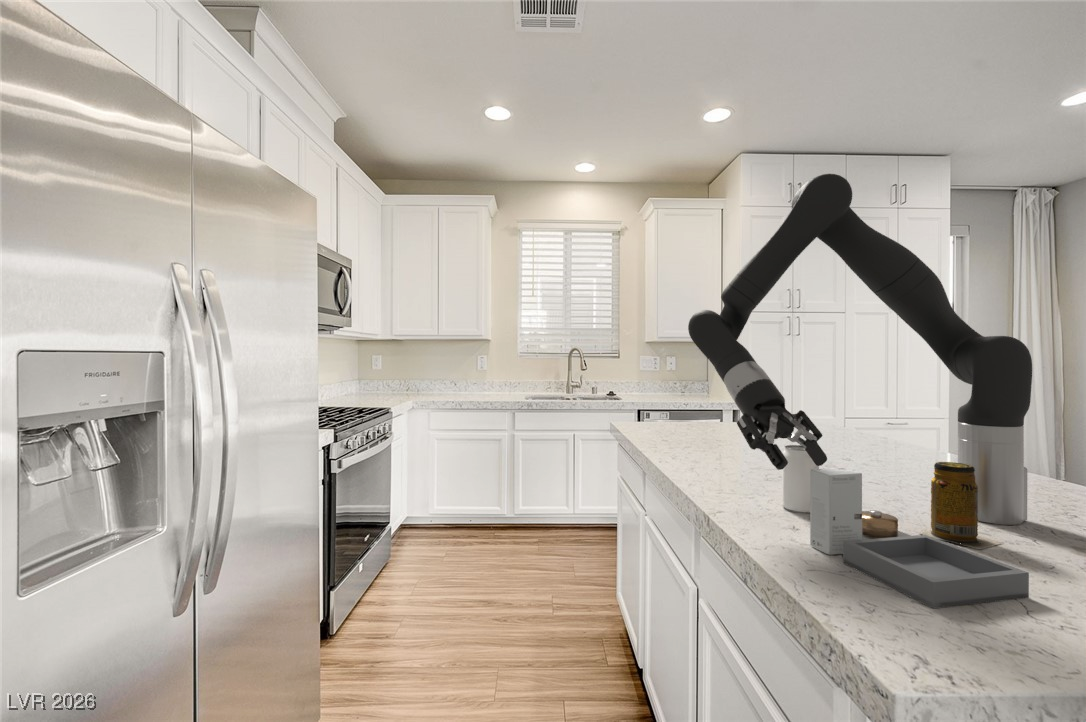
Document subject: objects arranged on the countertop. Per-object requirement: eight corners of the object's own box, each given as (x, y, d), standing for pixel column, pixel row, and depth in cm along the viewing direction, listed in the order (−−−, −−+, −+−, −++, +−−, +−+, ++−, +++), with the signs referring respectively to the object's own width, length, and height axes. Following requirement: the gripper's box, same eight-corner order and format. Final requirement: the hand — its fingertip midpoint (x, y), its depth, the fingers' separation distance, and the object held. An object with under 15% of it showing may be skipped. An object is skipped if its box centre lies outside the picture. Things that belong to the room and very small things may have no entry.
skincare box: (829, 556, 78) (830, 474, 78) (808, 545, 82) (808, 468, 82) (864, 552, 79) (864, 472, 79) (841, 542, 84) (841, 466, 84)
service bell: (876, 528, 90) (876, 503, 90) (918, 544, 83) (918, 517, 83) (836, 531, 89) (836, 506, 89) (874, 548, 81) (874, 520, 81)
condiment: (942, 528, 91) (943, 458, 91) (1003, 543, 83) (1003, 468, 83) (918, 534, 88) (918, 462, 87) (978, 551, 80) (978, 472, 80)
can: (823, 514, 98) (823, 450, 98) (786, 512, 100) (786, 449, 100) (813, 505, 105) (813, 445, 105) (778, 503, 106) (778, 444, 106)
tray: (925, 555, 78) (925, 534, 78) (1028, 597, 64) (1028, 572, 64) (843, 562, 75) (843, 541, 75) (933, 608, 62) (933, 582, 62)
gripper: (731, 378, 92) (782, 454, 81) (793, 377, 97) (849, 448, 86) (711, 405, 97) (757, 481, 86) (771, 403, 102) (822, 474, 91)
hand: (803, 465), depth 86 cm, fingers open, 8 cm apart
